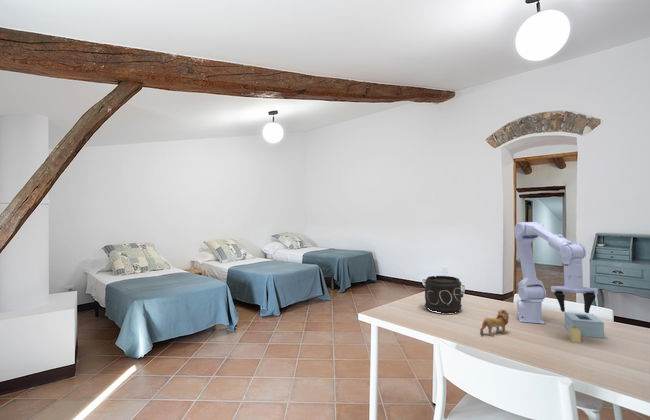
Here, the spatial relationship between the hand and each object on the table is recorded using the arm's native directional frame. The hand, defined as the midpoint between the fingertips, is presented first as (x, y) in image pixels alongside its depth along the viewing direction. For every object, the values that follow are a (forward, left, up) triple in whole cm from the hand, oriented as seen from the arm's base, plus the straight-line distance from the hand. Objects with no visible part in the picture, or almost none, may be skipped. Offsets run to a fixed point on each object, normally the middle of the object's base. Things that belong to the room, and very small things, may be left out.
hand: (574, 311), depth 130 cm
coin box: (+6, +11, -11) cm, 16 cm away
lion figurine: (-28, -2, -11) cm, 30 cm away
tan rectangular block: (0, 0, -11) cm, 11 cm away
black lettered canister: (-48, +27, -11) cm, 56 cm away
